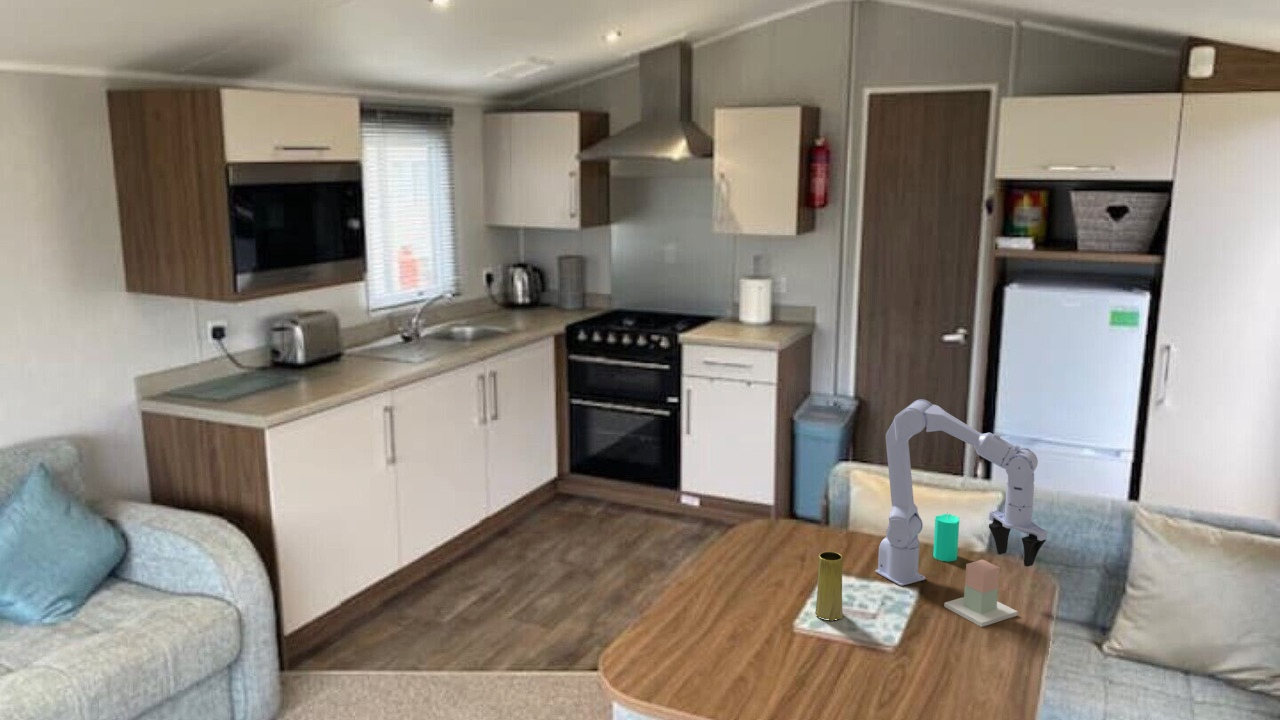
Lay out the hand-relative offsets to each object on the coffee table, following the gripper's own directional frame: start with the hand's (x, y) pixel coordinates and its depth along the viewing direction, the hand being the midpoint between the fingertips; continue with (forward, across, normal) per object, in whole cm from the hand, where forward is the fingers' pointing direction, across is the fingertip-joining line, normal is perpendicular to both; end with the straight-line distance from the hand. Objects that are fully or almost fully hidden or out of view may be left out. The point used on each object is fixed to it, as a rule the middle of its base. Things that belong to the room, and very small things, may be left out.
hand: (1015, 559), depth 219 cm
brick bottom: (+9, 0, -10) cm, 14 cm away
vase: (+11, -15, -41) cm, 45 cm away
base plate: (+10, 0, -10) cm, 14 cm away
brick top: (+4, 0, -10) cm, 11 cm away
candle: (+11, -26, +5) cm, 28 cm away
